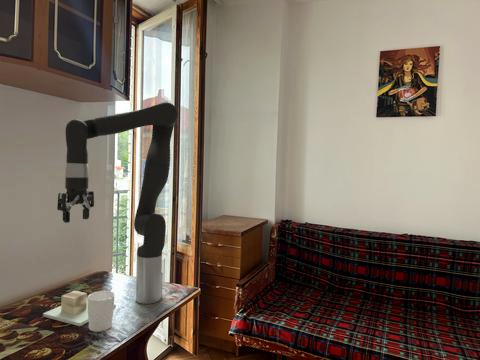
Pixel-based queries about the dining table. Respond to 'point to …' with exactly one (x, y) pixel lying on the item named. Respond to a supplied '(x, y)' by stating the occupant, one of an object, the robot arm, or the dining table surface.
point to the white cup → (100, 310)
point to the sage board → (69, 316)
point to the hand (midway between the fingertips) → (76, 220)
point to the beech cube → (73, 302)
